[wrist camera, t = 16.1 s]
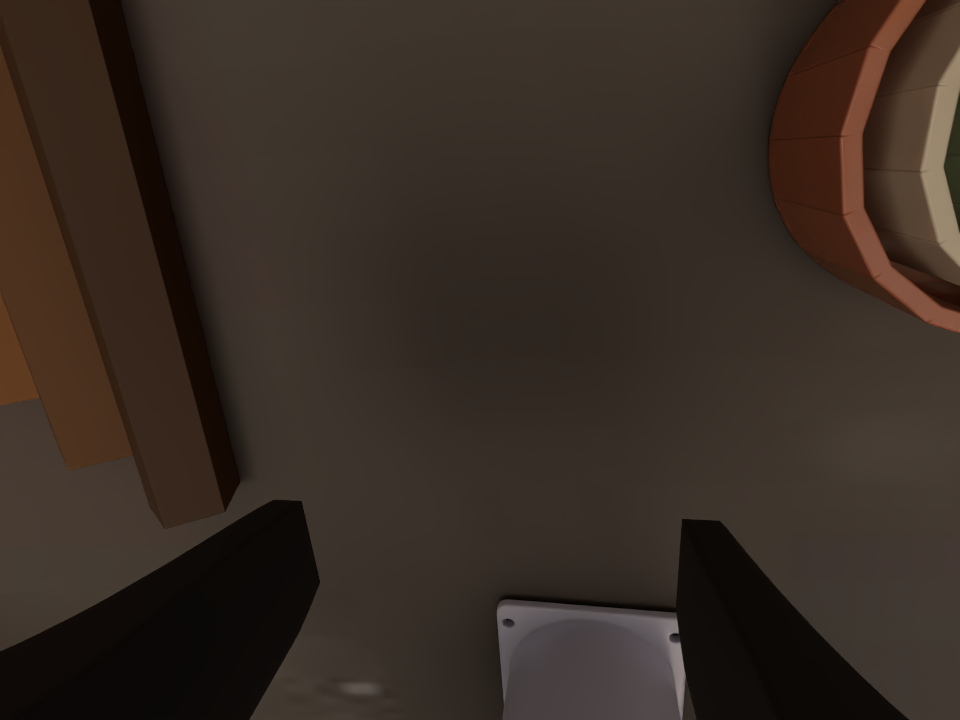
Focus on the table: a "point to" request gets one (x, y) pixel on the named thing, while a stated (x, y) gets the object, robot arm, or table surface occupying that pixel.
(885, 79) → the stack top cup
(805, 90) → the stack base cup
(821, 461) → the table surface
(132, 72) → the pan flute
